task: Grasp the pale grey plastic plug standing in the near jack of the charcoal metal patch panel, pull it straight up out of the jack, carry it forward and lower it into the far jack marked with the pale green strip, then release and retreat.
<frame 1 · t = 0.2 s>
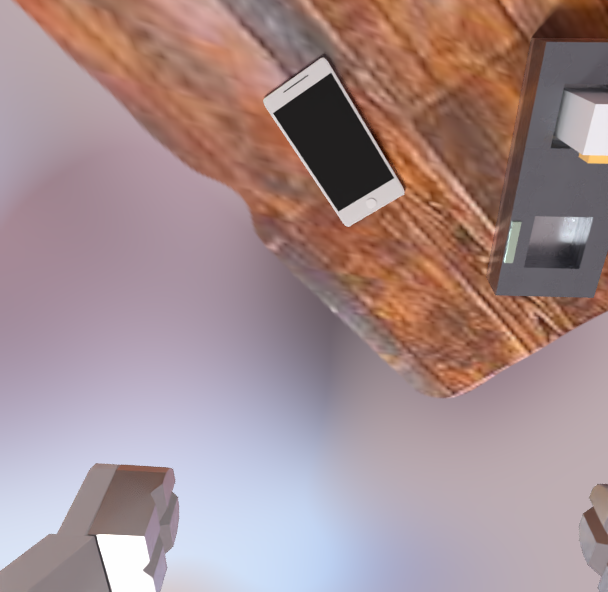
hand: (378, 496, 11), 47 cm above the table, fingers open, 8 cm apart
plug: (576, 110, 51), point 1 cm above the table, touching panel
smartphone: (336, 145, 55), on the table
panel: (557, 171, 55), on the table
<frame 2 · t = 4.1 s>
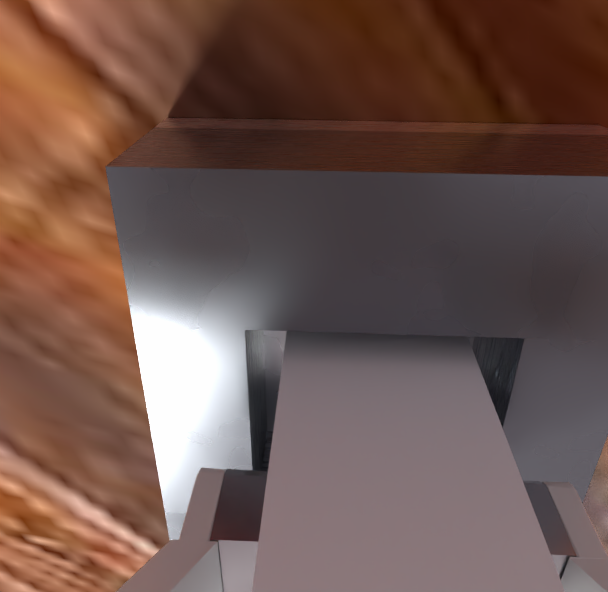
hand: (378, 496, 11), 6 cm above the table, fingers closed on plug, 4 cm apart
plug: (366, 358, 15), point 1 cm above the table, touching gripper, panel
panel: (353, 485, 19), on the table
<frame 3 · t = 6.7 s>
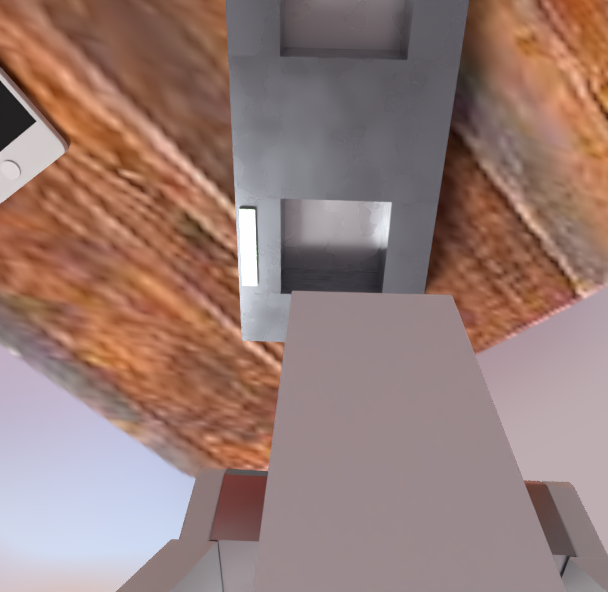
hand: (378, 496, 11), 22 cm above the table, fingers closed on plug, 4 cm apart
plug: (366, 357, 15), point 18 cm above the table, touching gripper
panel: (338, 113, 29), on the table
when the fingers open (7 cm above the table, at t = 9.3 s): plug stays where it is, resting on panel.
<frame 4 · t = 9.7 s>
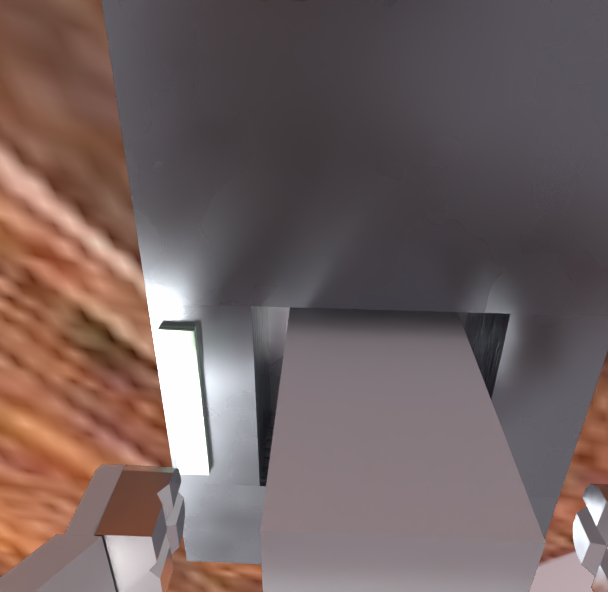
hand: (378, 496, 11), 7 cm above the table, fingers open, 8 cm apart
plug: (364, 338, 16), point 1 cm above the table, touching panel
panel: (377, 114, 14), on the table
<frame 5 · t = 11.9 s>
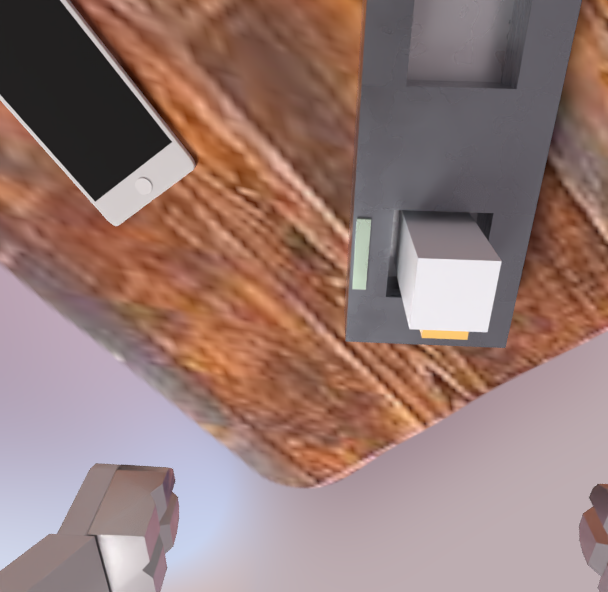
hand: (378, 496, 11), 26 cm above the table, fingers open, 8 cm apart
plug: (429, 237, 35), point 1 cm above the table, touching panel
smartphone: (73, 90, 33), on the table
panel: (439, 137, 33), on the table
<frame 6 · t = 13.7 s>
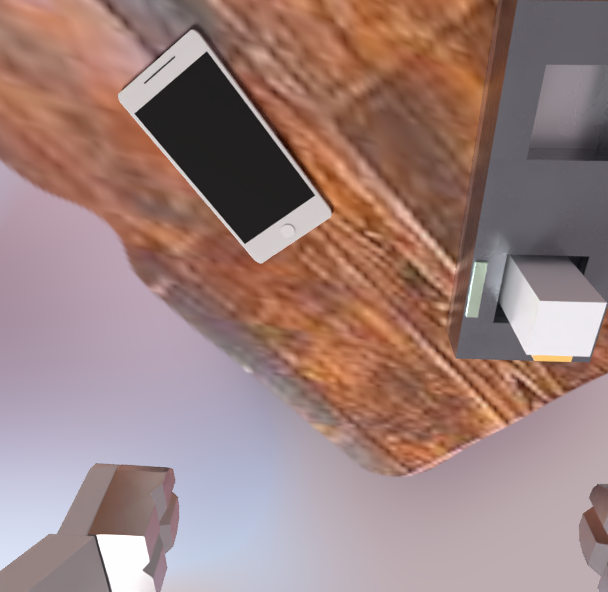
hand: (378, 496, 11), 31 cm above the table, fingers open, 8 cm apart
plug: (526, 271, 41), point 1 cm above the table, touching panel
smartphone: (231, 154, 40), on the table
panel: (539, 190, 39), on the table
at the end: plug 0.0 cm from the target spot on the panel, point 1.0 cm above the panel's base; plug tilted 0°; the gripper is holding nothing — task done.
